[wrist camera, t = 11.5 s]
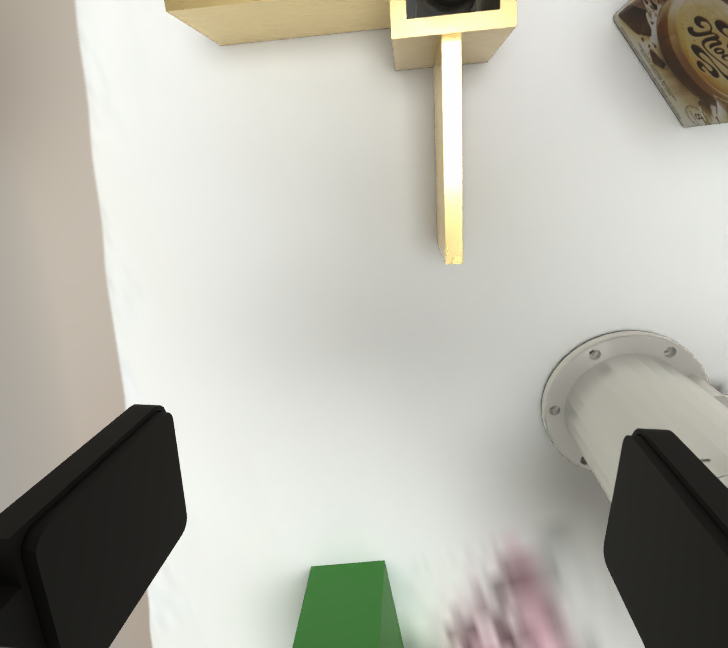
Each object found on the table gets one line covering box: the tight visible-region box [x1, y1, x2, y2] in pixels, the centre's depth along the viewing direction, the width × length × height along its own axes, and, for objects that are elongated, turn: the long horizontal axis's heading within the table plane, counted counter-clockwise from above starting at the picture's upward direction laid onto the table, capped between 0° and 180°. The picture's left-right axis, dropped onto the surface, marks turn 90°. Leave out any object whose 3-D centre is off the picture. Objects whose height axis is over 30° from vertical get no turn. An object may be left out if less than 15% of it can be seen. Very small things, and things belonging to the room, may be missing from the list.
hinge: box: [164, 0, 517, 264], centre depth 30 cm, size 18×18×9 cm
